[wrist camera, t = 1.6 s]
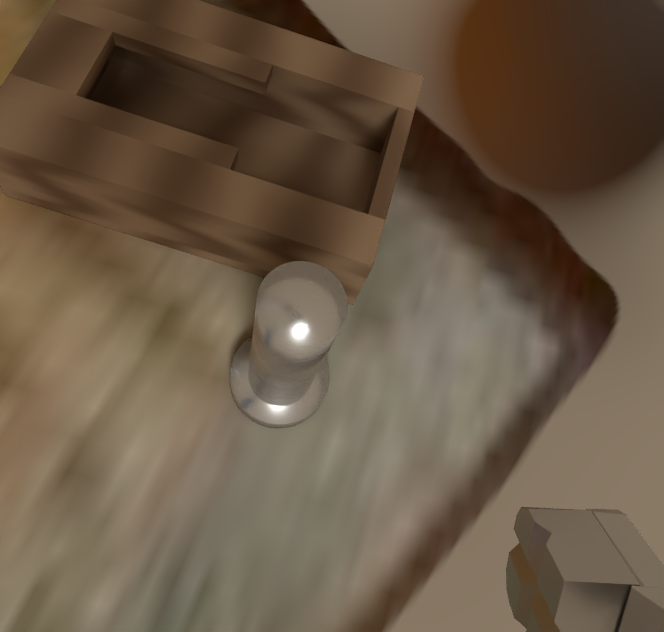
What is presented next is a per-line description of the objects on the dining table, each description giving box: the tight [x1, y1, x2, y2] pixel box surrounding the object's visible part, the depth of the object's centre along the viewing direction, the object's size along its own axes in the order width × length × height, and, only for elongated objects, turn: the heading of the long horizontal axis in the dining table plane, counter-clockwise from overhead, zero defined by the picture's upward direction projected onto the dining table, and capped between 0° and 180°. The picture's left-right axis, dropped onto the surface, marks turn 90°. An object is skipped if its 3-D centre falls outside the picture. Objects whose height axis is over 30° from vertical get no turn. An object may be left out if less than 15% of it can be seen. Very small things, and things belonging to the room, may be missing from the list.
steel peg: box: [230, 261, 348, 428], centre depth 28 cm, size 6×6×12 cm
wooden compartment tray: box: [0, 0, 424, 305], centre depth 36 cm, size 22×14×6 cm, turn 75°
